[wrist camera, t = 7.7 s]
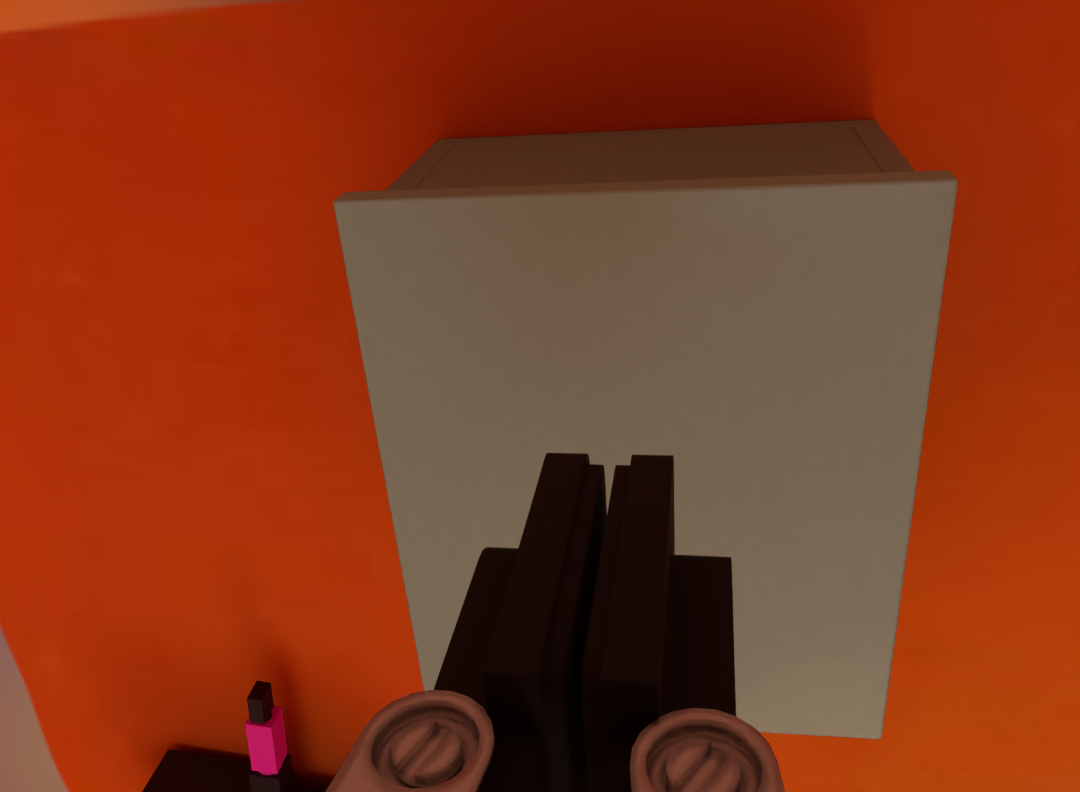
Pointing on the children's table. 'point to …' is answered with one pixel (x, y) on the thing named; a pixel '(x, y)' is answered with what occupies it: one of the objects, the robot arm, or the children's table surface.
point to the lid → (669, 393)
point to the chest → (656, 155)
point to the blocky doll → (230, 785)
